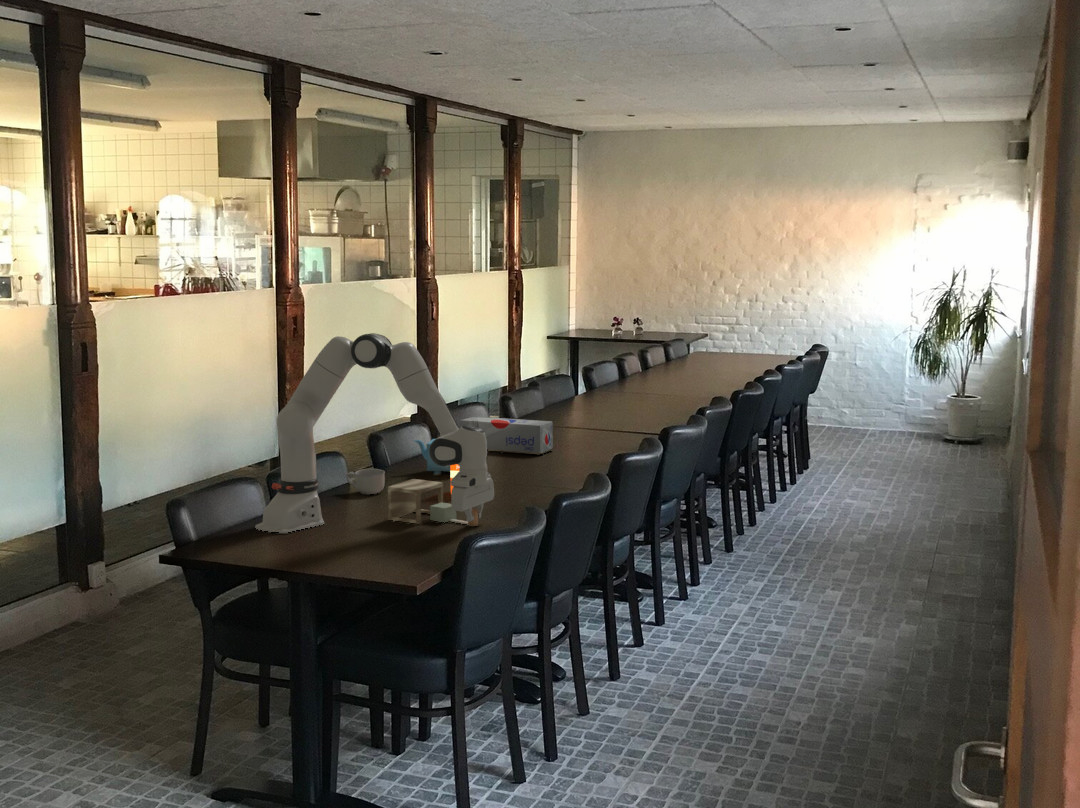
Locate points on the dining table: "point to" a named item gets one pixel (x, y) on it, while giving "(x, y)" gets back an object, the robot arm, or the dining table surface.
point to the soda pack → (514, 433)
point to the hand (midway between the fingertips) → (474, 519)
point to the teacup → (368, 480)
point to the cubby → (410, 498)
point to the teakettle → (430, 464)
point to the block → (449, 514)
